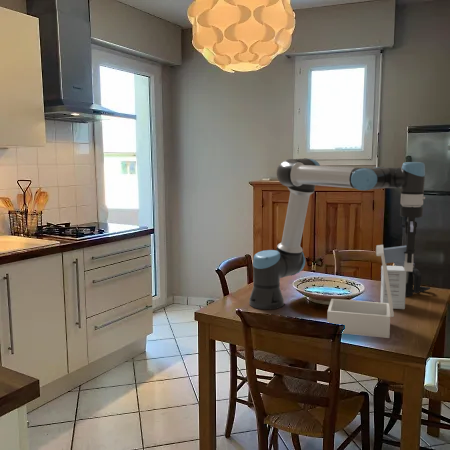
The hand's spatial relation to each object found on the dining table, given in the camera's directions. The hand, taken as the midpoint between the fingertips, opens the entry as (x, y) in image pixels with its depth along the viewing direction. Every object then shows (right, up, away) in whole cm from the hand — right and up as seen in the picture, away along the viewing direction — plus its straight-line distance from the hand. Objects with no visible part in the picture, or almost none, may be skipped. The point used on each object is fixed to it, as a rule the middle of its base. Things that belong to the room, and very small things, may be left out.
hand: (408, 269), depth 171 cm
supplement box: (+6, -19, +34) cm, 39 cm away
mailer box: (-16, -23, +9) cm, 29 cm away
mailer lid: (-9, -4, +3) cm, 10 cm away
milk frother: (+21, -16, +51) cm, 58 cm away
